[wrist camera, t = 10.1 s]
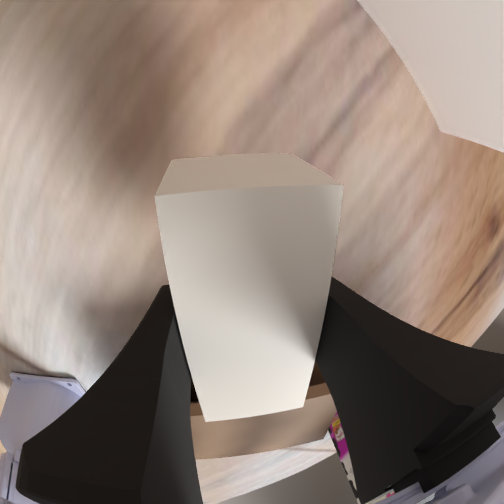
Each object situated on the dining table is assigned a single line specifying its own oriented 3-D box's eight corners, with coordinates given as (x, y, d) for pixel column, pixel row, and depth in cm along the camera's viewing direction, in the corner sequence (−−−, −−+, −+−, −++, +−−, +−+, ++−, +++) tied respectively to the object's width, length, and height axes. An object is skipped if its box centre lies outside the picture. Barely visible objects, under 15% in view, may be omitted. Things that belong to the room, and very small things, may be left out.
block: (199, 351, 13) (205, 421, 10) (171, 159, 9) (154, 196, 5) (280, 341, 14) (303, 407, 10) (289, 152, 9) (343, 184, 6)
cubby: (169, 408, 25) (170, 460, 20) (144, 352, 20) (138, 417, 15) (305, 390, 27) (323, 438, 22) (319, 331, 22) (347, 389, 17)
